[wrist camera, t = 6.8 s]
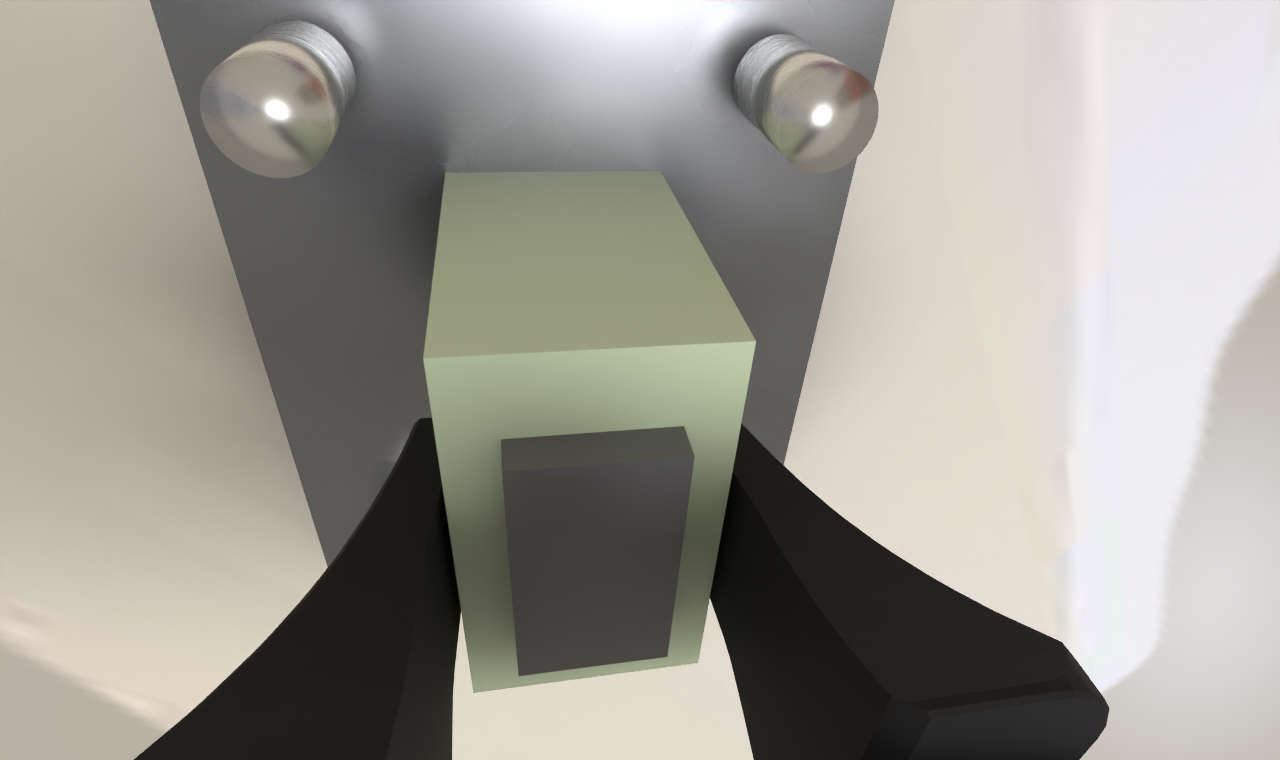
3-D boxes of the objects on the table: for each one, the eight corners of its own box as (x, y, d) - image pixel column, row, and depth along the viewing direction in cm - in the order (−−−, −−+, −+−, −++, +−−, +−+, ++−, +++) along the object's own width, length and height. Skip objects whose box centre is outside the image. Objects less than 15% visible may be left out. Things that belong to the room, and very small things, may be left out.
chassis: (342, 556, 20) (318, 678, 17) (157, -81, 11) (38, -56, 8) (751, 516, 22) (792, 618, 19) (873, -45, 13) (984, -15, 10)
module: (476, 458, 17) (473, 725, 12) (445, 172, 13) (419, 389, 8) (640, 446, 18) (705, 693, 12) (660, 170, 14) (771, 368, 8)
